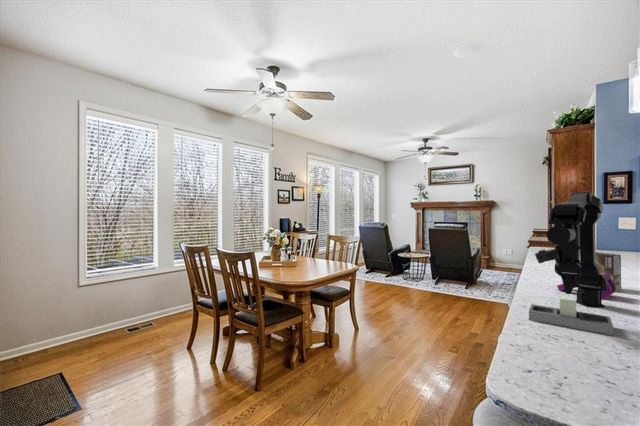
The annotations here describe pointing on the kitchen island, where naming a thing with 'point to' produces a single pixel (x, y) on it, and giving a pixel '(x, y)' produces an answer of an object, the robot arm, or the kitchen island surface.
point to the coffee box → (610, 266)
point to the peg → (568, 306)
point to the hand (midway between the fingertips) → (567, 290)
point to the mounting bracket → (605, 294)
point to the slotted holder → (572, 319)
